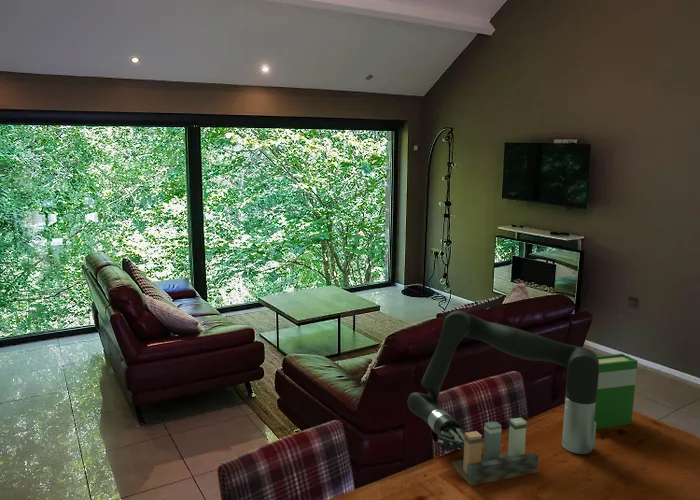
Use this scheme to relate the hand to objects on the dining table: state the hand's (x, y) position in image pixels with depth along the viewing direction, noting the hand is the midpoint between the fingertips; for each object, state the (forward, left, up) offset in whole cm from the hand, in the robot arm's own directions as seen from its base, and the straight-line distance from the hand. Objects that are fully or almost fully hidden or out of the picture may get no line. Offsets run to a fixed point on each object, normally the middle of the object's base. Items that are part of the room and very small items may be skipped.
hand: (470, 451), depth 167 cm
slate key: (-9, -2, -6) cm, 11 cm away
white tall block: (-18, -2, -6) cm, 19 cm away
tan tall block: (0, +2, -6) cm, 6 cm away
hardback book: (-64, -16, -8) cm, 67 cm away
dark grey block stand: (-9, 0, -7) cm, 12 cm away
